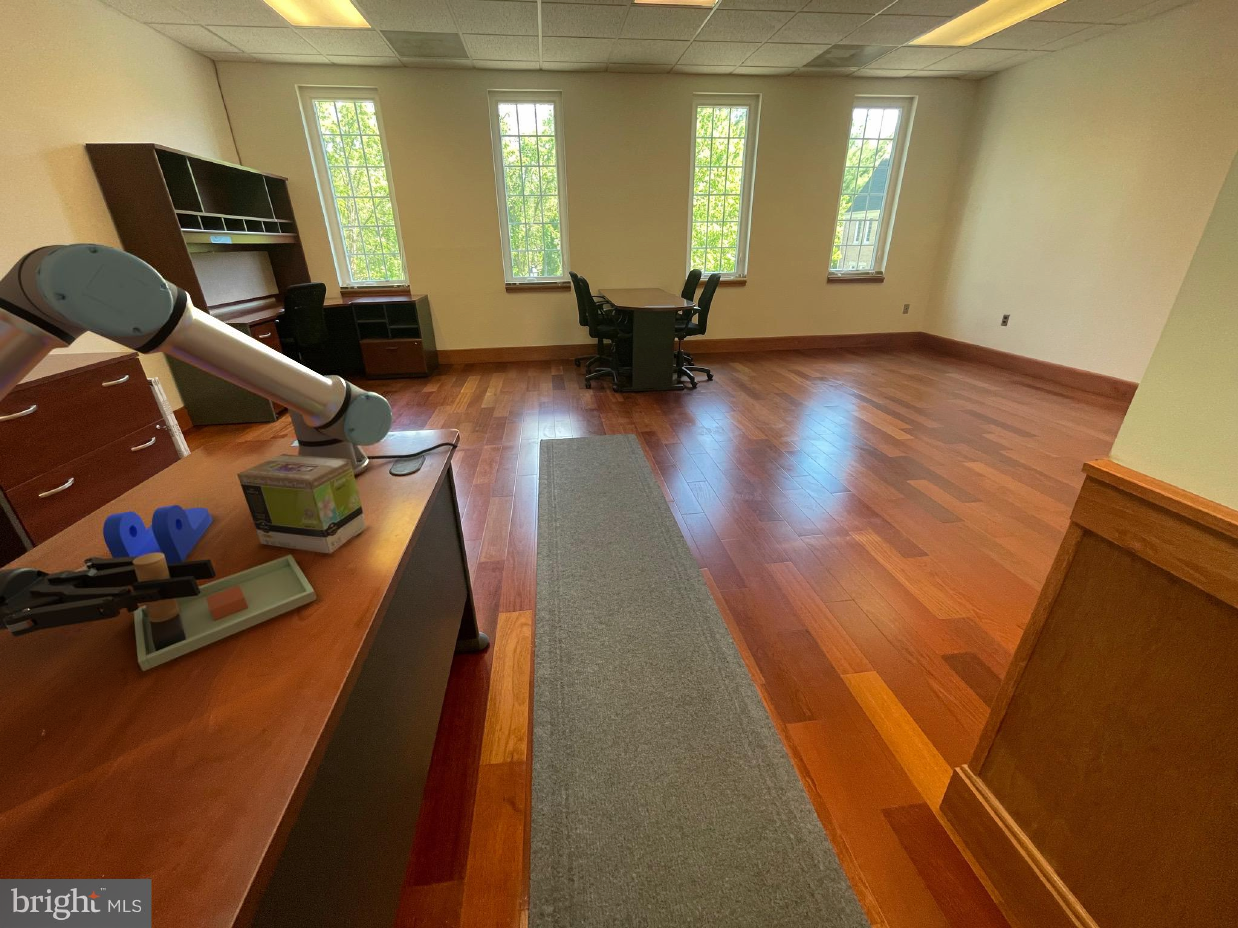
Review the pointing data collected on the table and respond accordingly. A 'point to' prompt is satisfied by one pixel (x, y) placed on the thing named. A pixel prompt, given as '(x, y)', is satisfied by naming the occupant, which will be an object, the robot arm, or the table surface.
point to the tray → (265, 596)
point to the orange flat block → (226, 603)
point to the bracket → (156, 532)
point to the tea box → (303, 502)
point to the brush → (160, 603)
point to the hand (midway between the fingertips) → (203, 577)
